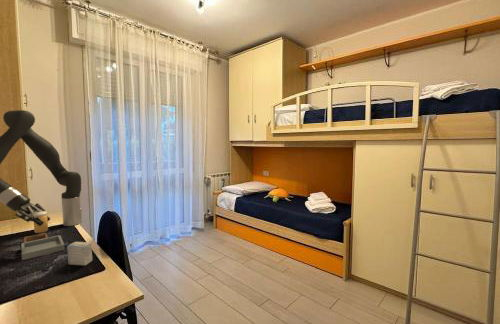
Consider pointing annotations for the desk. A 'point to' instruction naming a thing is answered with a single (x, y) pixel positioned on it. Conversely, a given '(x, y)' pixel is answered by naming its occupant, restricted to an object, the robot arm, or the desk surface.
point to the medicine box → (79, 253)
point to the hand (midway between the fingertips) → (45, 222)
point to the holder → (35, 237)
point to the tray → (42, 247)
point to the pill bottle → (43, 217)
